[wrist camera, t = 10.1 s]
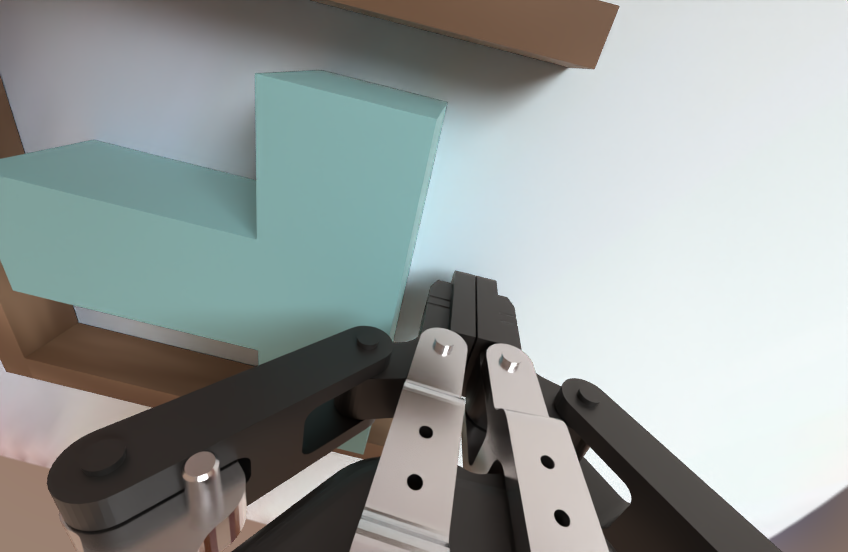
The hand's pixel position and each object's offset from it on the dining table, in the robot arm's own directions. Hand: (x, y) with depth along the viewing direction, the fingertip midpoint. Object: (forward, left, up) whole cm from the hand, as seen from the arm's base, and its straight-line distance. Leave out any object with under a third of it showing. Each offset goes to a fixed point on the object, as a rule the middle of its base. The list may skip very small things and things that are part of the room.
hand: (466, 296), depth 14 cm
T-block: (0, -8, -1) cm, 8 cm away
